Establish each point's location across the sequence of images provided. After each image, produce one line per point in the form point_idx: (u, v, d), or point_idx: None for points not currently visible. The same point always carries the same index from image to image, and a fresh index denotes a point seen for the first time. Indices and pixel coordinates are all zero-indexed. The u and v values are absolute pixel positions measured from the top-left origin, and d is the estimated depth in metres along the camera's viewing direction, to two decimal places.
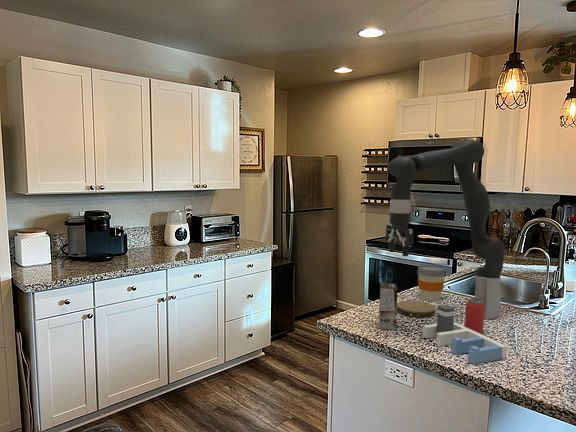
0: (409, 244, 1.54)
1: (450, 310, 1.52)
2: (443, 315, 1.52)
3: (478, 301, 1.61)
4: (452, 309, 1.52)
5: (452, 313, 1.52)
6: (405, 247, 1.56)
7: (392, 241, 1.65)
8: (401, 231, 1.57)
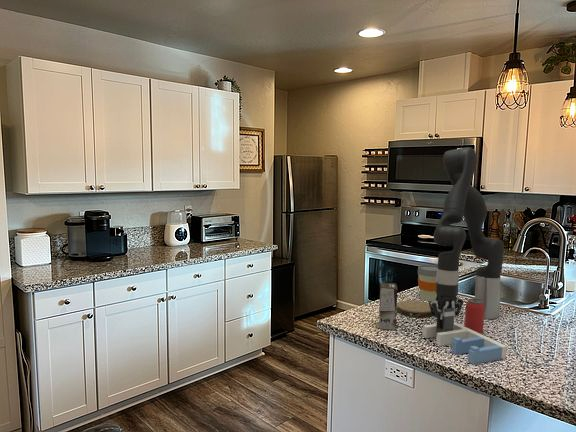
0: None
1: (450, 310, 1.52)
2: (443, 315, 1.52)
3: (478, 301, 1.61)
4: (452, 309, 1.52)
5: (452, 313, 1.52)
6: None
7: None
8: (454, 302, 1.53)
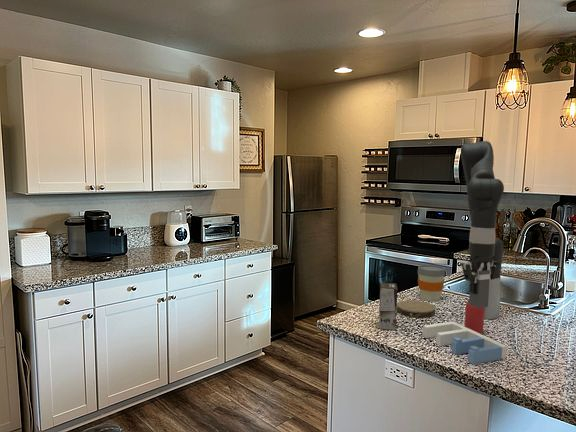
0: None
1: (485, 273, 1.36)
2: None
3: None
4: (487, 272, 1.37)
5: (487, 276, 1.37)
6: None
7: None
8: (490, 264, 1.38)
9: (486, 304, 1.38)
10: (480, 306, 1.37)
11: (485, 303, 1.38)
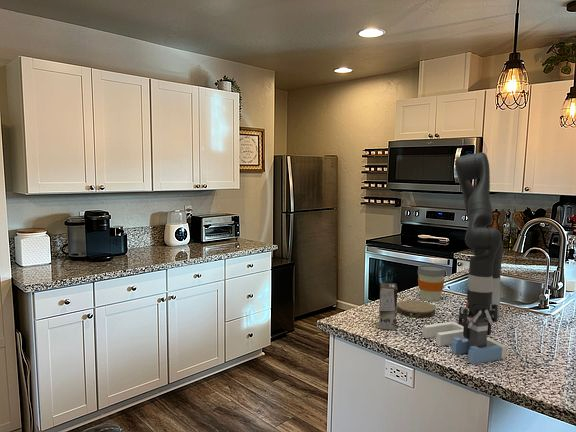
0: None
1: (483, 324, 1.38)
2: (475, 330, 1.38)
3: None
4: (485, 323, 1.38)
5: (485, 328, 1.38)
6: (490, 325, 1.41)
7: None
8: (488, 309, 1.39)
9: None
10: None
11: None
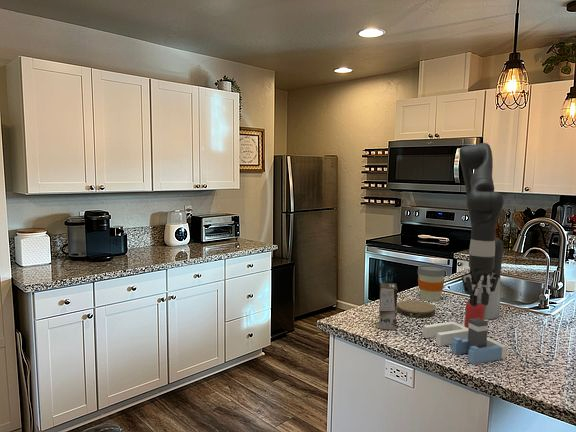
0: None
1: (483, 324, 1.38)
2: (475, 330, 1.38)
3: (478, 301, 1.61)
4: (485, 323, 1.38)
5: (485, 328, 1.38)
6: None
7: None
8: (489, 277, 1.38)
9: None
10: None
11: None
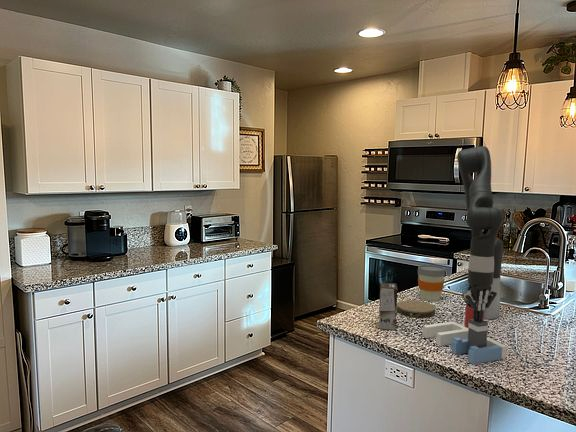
0: None
1: (483, 324, 1.38)
2: (475, 330, 1.38)
3: None
4: (485, 323, 1.38)
5: (485, 328, 1.38)
6: None
7: None
8: None
9: None
10: None
11: None
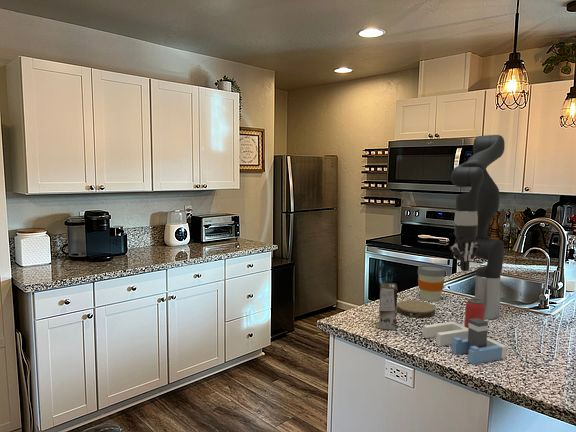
0: None
1: (483, 324, 1.38)
2: (475, 330, 1.38)
3: (478, 301, 1.61)
4: (485, 323, 1.38)
5: (485, 328, 1.38)
6: (468, 261, 1.53)
7: None
8: (473, 245, 1.53)
9: None
10: None
11: None
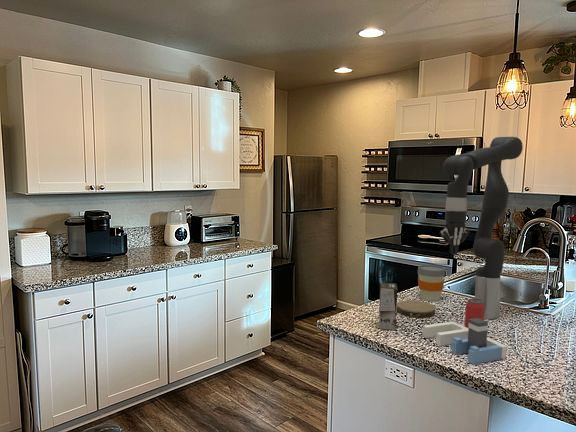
0: None
1: (483, 324, 1.38)
2: (475, 330, 1.38)
3: (478, 301, 1.61)
4: (485, 323, 1.38)
5: (485, 328, 1.38)
6: None
7: None
8: (462, 230, 1.62)
9: None
10: None
11: None
